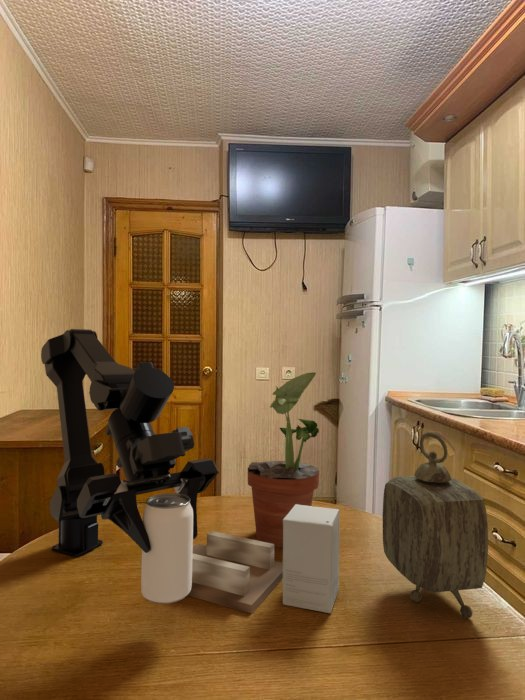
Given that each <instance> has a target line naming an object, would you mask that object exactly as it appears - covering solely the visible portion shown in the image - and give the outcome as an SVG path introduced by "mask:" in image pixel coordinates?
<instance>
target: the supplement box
mask: <svg viewBox="0 0 525 700" xmlns="http://www.w3.org/2000/svg"><path fill="white" fill-rule="evenodd" d="M282 563H283V579H282V605H284V606H289V607H295V608H300V609H306V610H311V611H316V612H320V613H327V614H331V613H332V610H333V607H334V606H335V602H336V599H337V596H338V593H339V590H340V584H339V582H340V509H338V508H330V507H329V508H328V507H321V506H306V505H298V504H295V506H294V507H293V508H292V509H291V511H290V512H289V513H288V514H287V515H286V517H285V518H284V519H283V546H282Z"/></svg>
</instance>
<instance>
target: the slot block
mask: <svg viewBox="0 0 525 700" xmlns="http://www.w3.org/2000/svg"><path fill="white" fill-rule="evenodd" d="M281 581H283V562H280V561H276V560H275V546H274V544H271V543H267V542H262V541H259V540H258V539H251V538H247V537H242V536H237V535H232V534H228V533H223V532H218V531H214V530H211V531H210V532H208V533H206V545H204V544H200V543H195V544H193V558H192V587H191V591H190V592H189V594H188V595H187V596H186V597H192V598H195V599H198V600H202V601H206V602H209V603H211V604H216V605H219V606H223V607H226V608H231V609H234V610H237V611H240V612H245V613H248V614H251V615H252V614H253V613H254V612H255V611H256V610H257V609H258V607H259V606H260V605H261V604H262V603H263V602H264V600H266V598H267V597H268V596H269V595H270V594H271V592H272V591H273V590H274V589H275V588H277V586H278V584H279V583H280V582H281Z"/></svg>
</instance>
